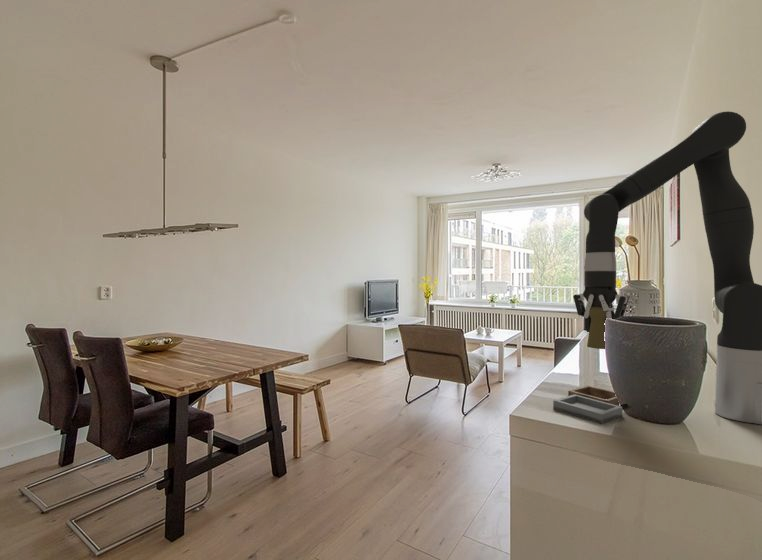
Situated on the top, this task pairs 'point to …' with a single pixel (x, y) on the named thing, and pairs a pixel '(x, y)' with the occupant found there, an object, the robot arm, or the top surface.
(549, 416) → the top surface
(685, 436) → the top surface
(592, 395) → the socket block
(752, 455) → the top surface
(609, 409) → the tray
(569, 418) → the top surface
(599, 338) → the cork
